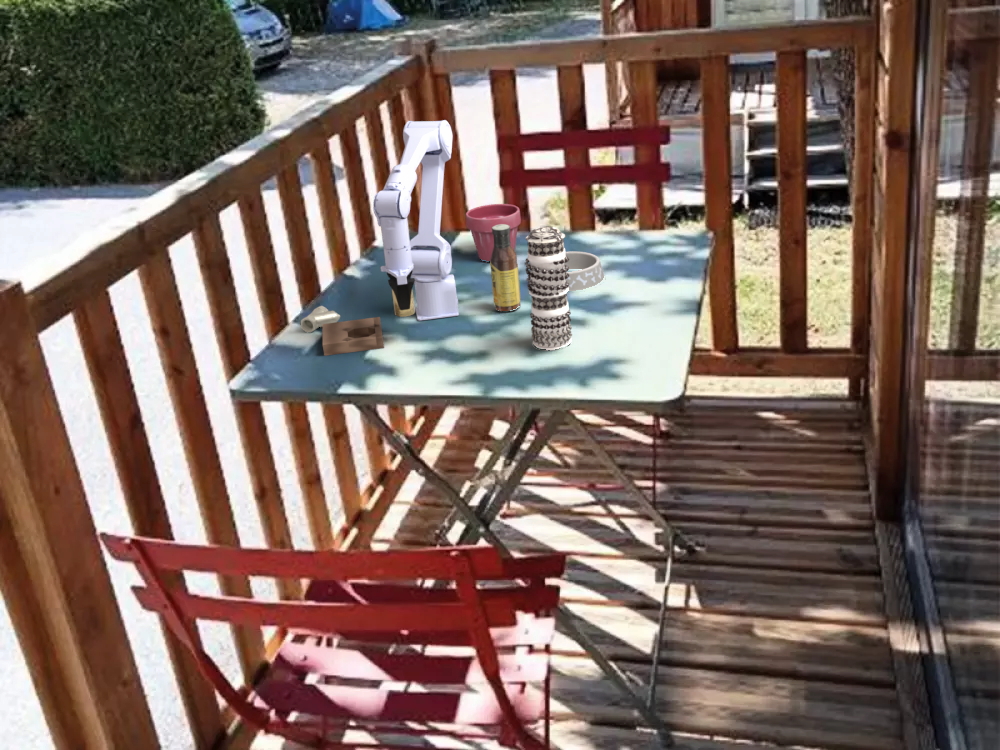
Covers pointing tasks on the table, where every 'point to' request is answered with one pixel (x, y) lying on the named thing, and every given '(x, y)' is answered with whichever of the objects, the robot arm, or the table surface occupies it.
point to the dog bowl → (583, 270)
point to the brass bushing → (403, 312)
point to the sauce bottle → (504, 270)
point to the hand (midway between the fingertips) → (404, 305)
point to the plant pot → (491, 225)
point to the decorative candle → (548, 288)
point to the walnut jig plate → (352, 336)
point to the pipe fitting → (318, 319)
